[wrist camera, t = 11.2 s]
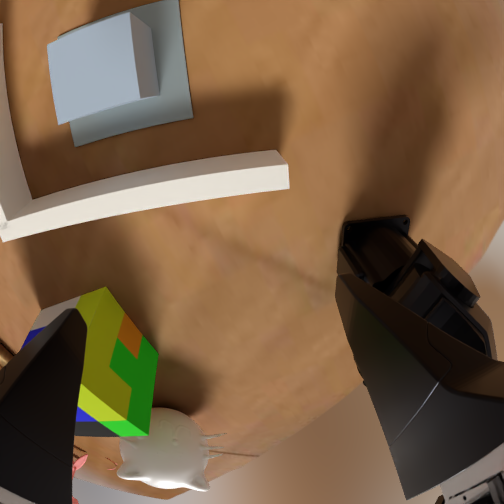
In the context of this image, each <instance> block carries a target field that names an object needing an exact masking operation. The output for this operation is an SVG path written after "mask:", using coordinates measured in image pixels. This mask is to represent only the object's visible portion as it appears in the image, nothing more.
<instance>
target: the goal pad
mask: <svg viewBox="0 0 504 504" xmlns="http://www.w3.org/2000/svg"><path fill="white" fill-rule="evenodd" d="M128 12H130V13H132V14H133V15H134V16H136V17H137V18H138V19H140V20H141V21H142V22H144V23H145V24H146V25H147V26H149V27H150V28H151V31H152V40H153V48H154V56H155V64H156V71H157V78H158V85H159V92H160V96H155V97H151V98H147V99H143V100H139V101H135V102H131V103H128V104H124V105H120V106H117V107H114V108H110V109H107V110H104V111H101V112H97V113H94V114H91V115H88V116H84V117H81V118H78V119H75V120H72V121H69V123H70V128H71V132H72V137H73V141H74V146H75V147H78V146H81V145H84V144H87V143H90V142H93V141H97V140H100V139H103V138H107V137H110V136H114V135H118V134H121V133H125V132H129V131H133V130H137V129H141V128H146V127H150V126H154V125H159V124H164V123H169V122H174V121H179V120H184V119H190V118H193V111H192V104H191V97H190V90H189V83H188V76H187V68H186V60H185V53H184V44H183V36H182V28H181V19H180V9H179V0H163V1H159V2H155V3H151V4H147V5H143V6H139V7H136V8H132V9H129V10H126V11H122V12H119V13H116V14H113V15H110V16H107V17H105V18H102V19H99V20H96V21H94V22H91V23H89V24H86V25H84V26H81V27H79V28H77V29H74V30H72V31H70V32H68V33H65V34H63V35H61V36H59V37H58V39H60V38H62V37H65V36H67V35H69V34H71V33H73V32H76V31H78V30H80V29H83V28H85V27H88V26H90V25H93V24H95V23H98V22H101V21H104V20H106V19H109V18H112V17H115V16H118V15H121V14H124V13H128Z"/></svg>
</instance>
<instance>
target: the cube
mask: <svg viewBox="0 0 504 504" xmlns="http://www.w3.org/2000/svg"><path fill="white" fill-rule="evenodd" d="M47 51H48V61H49V70H50V78H51V85H52V92H53V98H54V104H55V109H56V115H57V120H58V125H60V124H63V123H66V122H69V121H72V120H75V119H78V118H81V117H84V116H88V115H91V114H94V113H97V112H101V111H104V110H107V109H110V108H114V107H117V106H120V105H124V104H128V103H131V102H135V101H139V100H143V99H147V98H151V97H155V96H160V92H159V85H158V78H157V71H156V64H155V56H154V48H153V40H152V31H151V28H150V27H149V26H147V25H146V24H145V23H144V22H142V21H141V20H140V19H138V18H137V17H136V16H134V15H133V14H132V13H130V12H128V13H124V14H121V15H118V16H115V17H112V18H109V19H106V20H104V21H101V22H98V23H95V24H93V25H90V26H88V27H85V28H83V29H80V30H78V31H76V32H73V33H71V34H69V35H67V36H65V37H62V38H60V39H58V40H56V41H54V42H52V43H50V44H48V45H47Z"/></svg>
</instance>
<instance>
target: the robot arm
mask: <svg viewBox="0 0 504 504" xmlns="http://www.w3.org/2000/svg"><path fill="white" fill-rule="evenodd" d="M404 220H405V222H403V221H404ZM409 225H410V219H409V218H408V217H407V216H406V215H399V216H391V217H382V218H373V219H365V220H356V221H348V222H346V223H344V224H343V227H342V240H341V246H340V248H339V249H338V262H337V274H338V276H337V280H336V291H335V298H336V302H337V306H338V309H339V313H340V316H341V319H342V323H343V326H344V330H345V333H346V336H347V340H348V342H349V345H350V347H351V350H352V352H353V354H354V355H353V356H354V360H355V363H356V365H357V368H358V371H359V373H360V375H361V376H362V378H363V379H364V381H363V384H364V385H365V386H366V387H367V389H368V392H369V394H370V397H371V400H372V402H373V405H374V407H375V410H376V413H377V415H378V418H379V421H380V424H381V426H382V429H383V432H384V435H385V437H386V440H387V443H388V445H389V449H390V452H391V455H392V457H393V461H394V464H395V467H396V470H397V473H398V476H399V479H400V482H401V485H402V488H403V491H404V495H405V498H406V500H409V499H411V498H413V497H415V496H418V495H420V494H422V493H424V492H426V491H428V490H430V489H432V488H434V487H436V486H438V485H440V487H441V490H442V493H443V495H441V496H439V497H438V499H437V501H436V503H435V504H504V362H501V361H498V360H497V353H496V346H495V340H494V333H493V328H492V323H491V320H490V318H489V317H488V316H487V314H486V313H485V312H484V311H483V310H482V309H481V308H480V307H479V305H478V304H477V303H476V302H477V301H478V300H479V298H480V295H479V293H478V291H477V289H476V287H475V285H474V283H473V281H472V279H471V277H470V276H469V275H468V274H467V273H466V272H465V271H464V270H463V269H462V268H461V267H460V266H459V265H458V264H457V263H456V262H455V261H454V260H453V259H452V258H450V257H449V256H447V255H446V254H444V253H443V252H441V251H440V250H439V249H437V248H436V247H434V246H433V245H431V244H430V243H428V242H427V241H425V240H424V239H421V241H420V242H419V244H418V245H417V244H416V243H415V242H414V241H413V240H412V239H411V238H410V237H409V236H408V231H409ZM349 226H351V227H350V229H348V230H347V228H348V227H349ZM87 331H88V329H87V324H86V322H85V321H84V319H83V317H82V315H81V314H80V312H79V310H78V309H77V308H67V309H65V310H64V311H63V312H62V313H61V314H60V315H59V316H57V317H56V318H55V319H54V320H53V321H52V322H51V323H49V324H48V325H47V326H46V327H45V328H44V329H43V330H42V331H41V332H40V333H38V334H37V335H36V336H35V337H34V338H33V339H32V340H31V341H30V342H29V343H28V344H27V345H25V346H24V347H23V348H22V349H21V350H20V351H19V352H18V353H17V354H16V355H15V356H14V357H13V358H12V359H11V360H10V361H9V362H8V363H7V364H6V365H5V366H4V367H3V368H2V369H1V370H0V504H72V469H73V468H72V465H73V447H74V435H75V424H76V415H77V407H78V400H79V393H80V386H81V380H82V374H83V368H84V359H85V349H86V339H87Z"/></svg>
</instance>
